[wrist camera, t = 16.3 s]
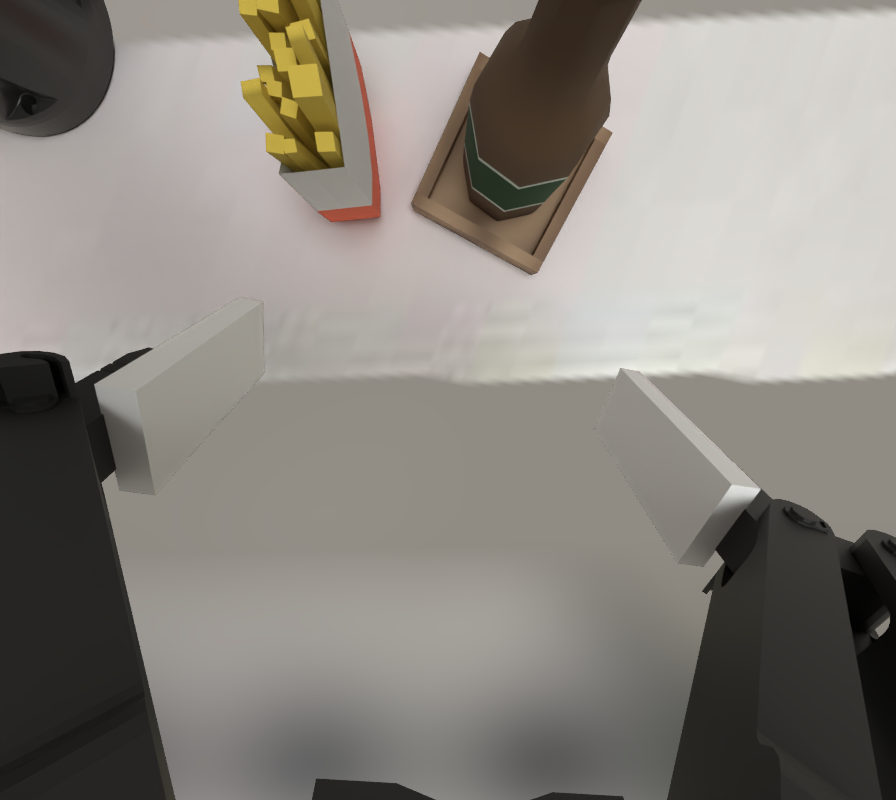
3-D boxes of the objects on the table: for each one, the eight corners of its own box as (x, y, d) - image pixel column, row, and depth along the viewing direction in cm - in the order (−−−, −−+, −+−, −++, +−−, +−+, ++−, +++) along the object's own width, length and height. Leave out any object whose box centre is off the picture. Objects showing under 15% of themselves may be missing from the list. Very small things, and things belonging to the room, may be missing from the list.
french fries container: (334, 228, 36) (230, 154, 19) (312, 88, 34) (169, -148, 16) (385, 222, 36) (330, 143, 18) (367, 82, 34) (283, -162, 16)
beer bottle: (471, 113, 33) (534, -343, 10) (563, 134, 34) (833, -258, 10) (452, 214, 35) (468, 28, 12) (540, 232, 35) (726, 89, 12)
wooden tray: (413, 210, 36) (411, 203, 33) (477, 70, 33) (479, 52, 31) (531, 274, 37) (537, 272, 35) (600, 144, 35) (612, 132, 32)
